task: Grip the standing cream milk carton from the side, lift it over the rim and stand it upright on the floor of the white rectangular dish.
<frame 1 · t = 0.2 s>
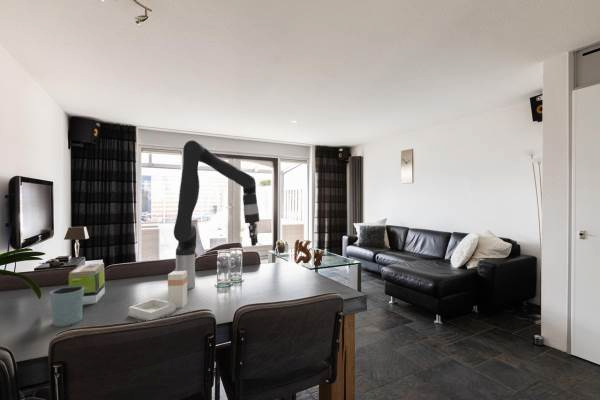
hand: (254, 244, 153), 22 cm above the table, tool pointing down, fingers open, 8 cm apart
light blue cup: (67, 322, 110), on the table
carton: (177, 305, 127), on the table
white rectangular dish: (152, 313, 117), on the table
tea box: (88, 300, 134), on the table
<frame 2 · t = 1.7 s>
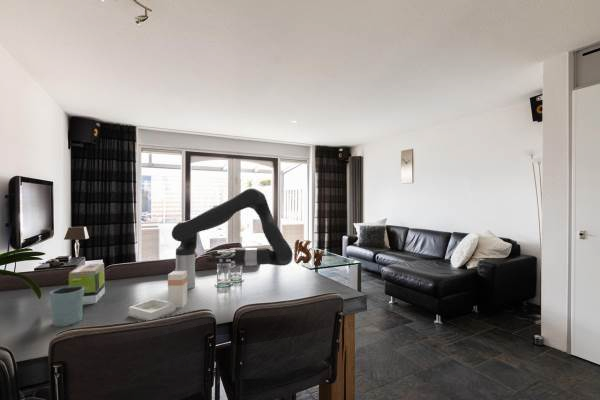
hand: (209, 257, 128), 20 cm above the table, tool horizontal, fingers open, 8 cm apart
nothing on the table moved.
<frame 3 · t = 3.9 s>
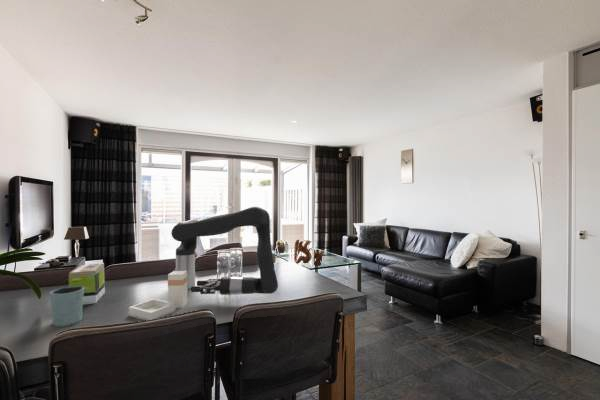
hand: (194, 286, 127), 8 cm above the table, tool horizontal, fingers open, 8 cm apart
nothing on the table moved.
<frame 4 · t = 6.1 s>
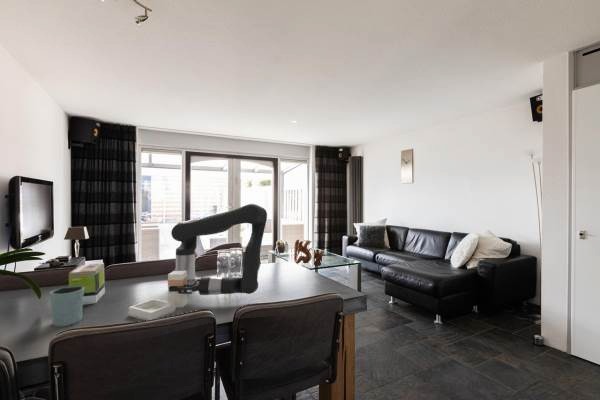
hand: (172, 286, 127), 8 cm above the table, tool horizontal, fingers closed on carton, 6 cm apart
carton: (177, 304, 127), on the table, touching gripper
everything else where it was.
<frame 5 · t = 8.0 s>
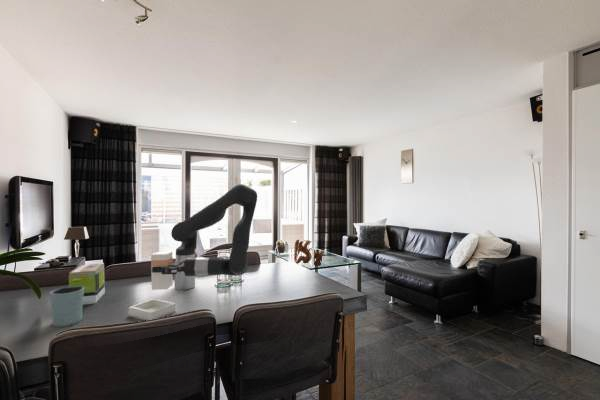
hand: (155, 267, 120), 18 cm above the table, tool horizontal, fingers closed on carton, 6 cm apart
carton: (162, 287, 120), point 10 cm above the table, touching gripper
everything else where it was.
when the fingers open (10 cm above the table, at t = 10.2 s): carton drops 1 cm, resting on white rectangular dish.
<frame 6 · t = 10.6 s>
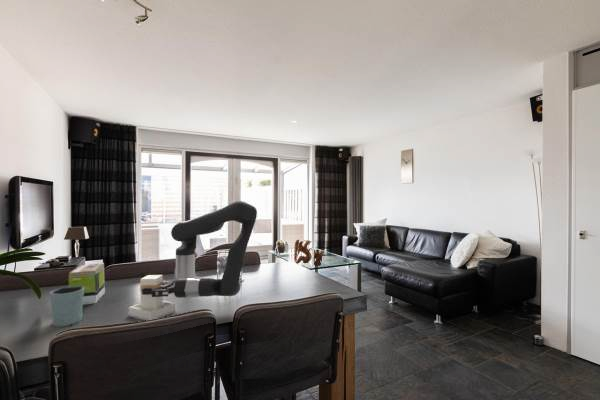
hand: (147, 288, 117), 10 cm above the table, tool horizontal, fingers open, 8 cm apart
carton: (152, 312, 117), point 1 cm above the table, touching white rectangular dish
everything else where it was.
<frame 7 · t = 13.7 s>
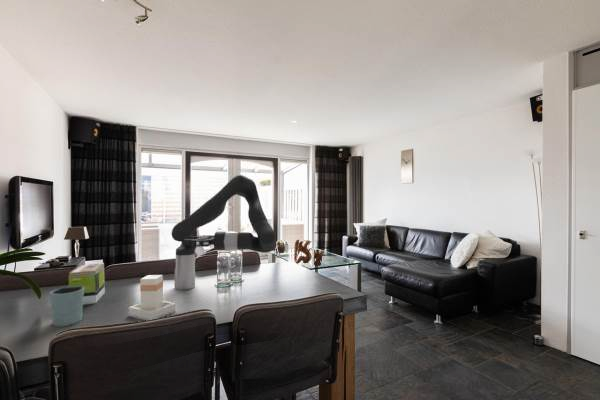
hand: (186, 240, 119), 29 cm above the table, tool horizontal, fingers open, 8 cm apart
nothing on the table moved.
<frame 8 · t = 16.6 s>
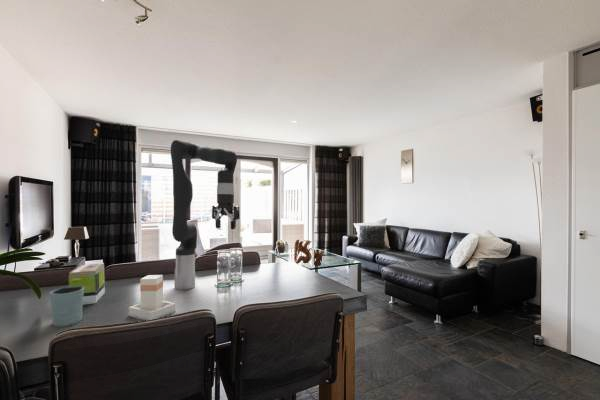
hand: (225, 228, 135), 32 cm above the table, tool pointing down, fingers open, 8 cm apart
nothing on the table moved.
at the end: carton inside the target area on the white rectangular dish (0.2 cm from its centre), point 0.8 cm above the white rectangular dish's base; carton tilted 0°; the gripper is holding nothing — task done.
